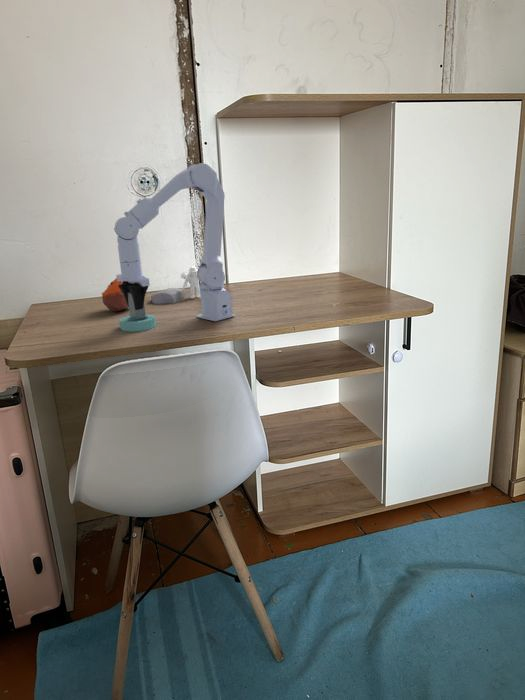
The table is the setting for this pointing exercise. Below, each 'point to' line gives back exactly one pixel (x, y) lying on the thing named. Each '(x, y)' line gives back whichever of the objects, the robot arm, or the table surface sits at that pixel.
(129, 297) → the dark metal rectangular bar
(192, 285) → the blocky character figurine
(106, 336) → the table surface
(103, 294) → the orange rounded figure
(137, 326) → the teal creased ring
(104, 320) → the table surface
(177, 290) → the stone block
